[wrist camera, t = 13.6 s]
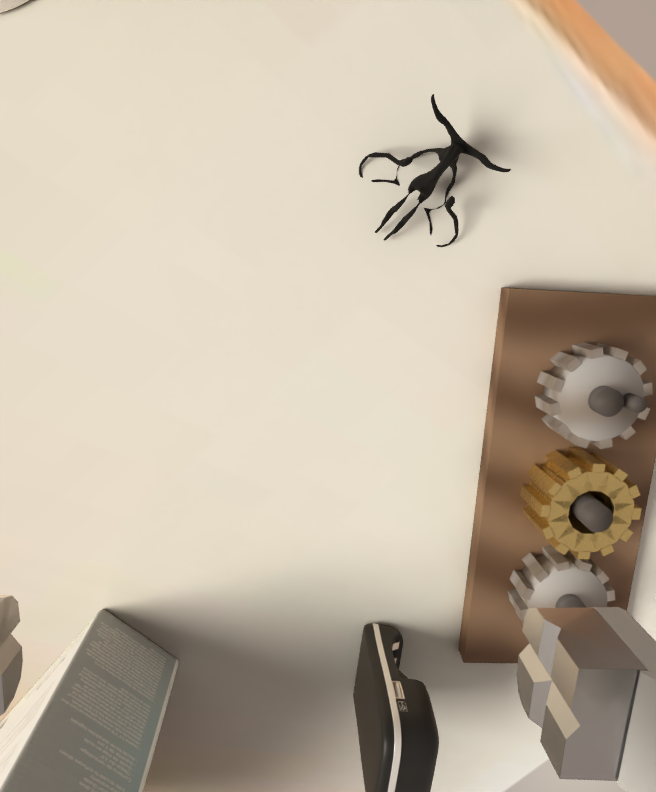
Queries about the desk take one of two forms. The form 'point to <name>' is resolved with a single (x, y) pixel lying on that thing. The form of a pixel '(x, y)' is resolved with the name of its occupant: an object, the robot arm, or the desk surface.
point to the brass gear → (561, 487)
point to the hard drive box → (90, 715)
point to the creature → (433, 174)
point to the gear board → (558, 430)
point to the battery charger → (392, 718)
